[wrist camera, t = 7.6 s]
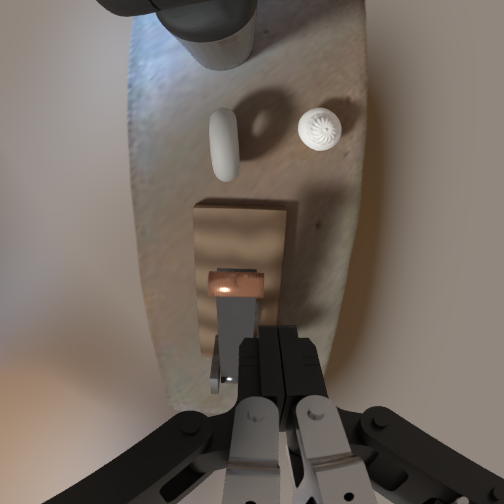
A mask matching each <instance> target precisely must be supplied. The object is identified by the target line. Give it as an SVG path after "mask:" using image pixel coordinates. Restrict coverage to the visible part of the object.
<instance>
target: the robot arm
mask: <svg viewBox="0 0 504 504" xmlns="http://www.w3.org/2000/svg"><path fill="white" fill-rule="evenodd" d="M96 1H97V2H98V3H99V4H100V5H102V6H103V7H104V8H105V9H106V10H108V11H110V12H111V13H113V14H115V15H118V16H125V17H129V16H139V15H145V14H149V13H154V12H156V15H157V17H158V19H159V21H160V22H161V23H162V25H163V26H164V27H165V28H166V29H167V30H168V31H169V32H170V33H171V34H172V35H173V36H174V37H175V38H176V39H177V40H178V41H179V42H180V43H181V44H182V45H183V46H184V47H185V48H186V49H187V50H188V52H189V53H190V54H191V55H192V56H193V57H194V58H195V59H196V60H197V61H198V62H199V63H200V64H201V65H203V66H204V67H206V68H209V69H212V70H218V71H220V70H229V69H233V68H235V67H237V66H239V65H240V64H242V63H243V62H244V61H245V60H246V59H247V58H248V57H249V56H250V54H251V52H252V49H253V45H254V36H255V23H256V10H257V0H96ZM283 431H286V434H287V442H286V447H285V449H286V455H287V460H288V466H289V471H290V476H291V482H292V487H293V504H378V503H377V500H376V497H375V494H374V491H373V489H374V490H375V491H376V492H378V493H379V494H381V495H382V496H384V497H385V498H387V499H388V500H390V501H391V502H393V503H394V504H504V479H503V478H501V477H499V476H497V475H496V474H494V473H492V472H490V471H489V470H487V469H485V468H483V467H482V466H480V465H478V464H476V463H475V462H473V461H471V460H470V459H468V458H466V457H465V456H463V455H461V454H459V453H458V452H456V451H454V450H453V449H451V448H450V447H448V446H446V445H444V444H443V443H441V442H440V441H438V440H437V439H435V438H433V437H431V436H430V435H429V434H427V433H425V432H424V431H422V430H421V429H419V428H418V427H416V426H414V425H413V424H411V423H410V422H408V421H407V420H405V419H404V418H402V417H400V416H399V415H398V414H396V413H395V412H393V411H391V410H390V409H388V408H386V407H382V406H375V407H371V408H368V409H367V410H365V411H364V413H363V414H362V413H356V412H350V411H345V410H342V409H340V408H338V407H337V406H335V404H334V403H333V402H332V401H331V400H330V399H329V398H328V395H327V390H326V386H325V382H324V378H323V374H322V370H321V366H320V362H319V358H318V354H317V350H316V346H315V345H314V344H313V343H312V342H311V340H310V339H309V338H298V333H297V328H296V326H295V325H277V326H276V325H258V329H257V338H244V339H243V341H242V343H241V344H240V346H239V366H238V398H237V402H236V404H235V405H234V407H233V408H232V409H230V410H229V411H228V412H226V413H223V414H220V415H216V416H212V417H207V416H206V415H204V414H203V413H200V412H197V411H183V412H180V413H178V414H176V415H175V416H173V417H172V418H171V419H169V420H168V421H167V422H165V423H164V424H163V425H161V426H160V427H159V428H157V429H156V430H155V431H153V432H152V433H150V434H149V435H148V436H146V437H145V438H144V439H142V440H141V441H139V442H138V443H137V444H135V445H134V446H132V447H131V448H130V449H128V450H127V451H125V452H124V453H122V454H121V455H119V456H118V457H116V458H115V459H113V460H112V461H110V462H109V463H108V464H106V465H104V466H103V467H101V468H100V469H98V470H97V471H95V472H94V473H92V474H91V475H89V476H87V477H86V478H84V479H83V480H81V481H79V482H78V483H76V484H74V485H73V486H71V487H69V488H68V489H66V490H65V491H63V492H61V493H59V494H58V495H56V496H54V497H53V498H51V499H49V500H47V501H46V502H44V503H42V504H177V503H178V502H179V501H180V500H182V499H183V498H184V497H185V496H186V495H188V494H189V493H190V492H191V491H192V490H194V489H195V488H196V487H197V486H198V485H199V484H201V482H203V481H204V480H205V479H206V478H207V477H208V476H210V475H211V474H212V473H213V472H214V471H215V470H219V469H223V468H227V469H226V475H225V483H224V490H223V498H222V504H280V467H279V465H278V445H279V432H283Z"/></svg>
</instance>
